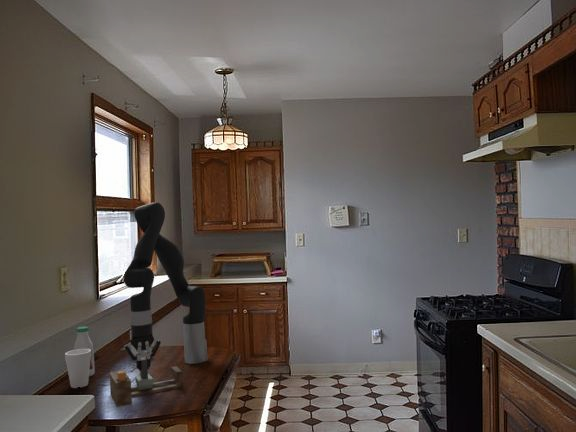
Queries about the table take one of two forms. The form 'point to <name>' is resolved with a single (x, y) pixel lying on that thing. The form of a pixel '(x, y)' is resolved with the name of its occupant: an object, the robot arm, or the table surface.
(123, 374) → the button
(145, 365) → the sliding handle
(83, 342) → the milk bottle
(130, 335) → the supplement box
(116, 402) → the brown mechanism housing
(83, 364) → the foam cup
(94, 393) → the table surface
